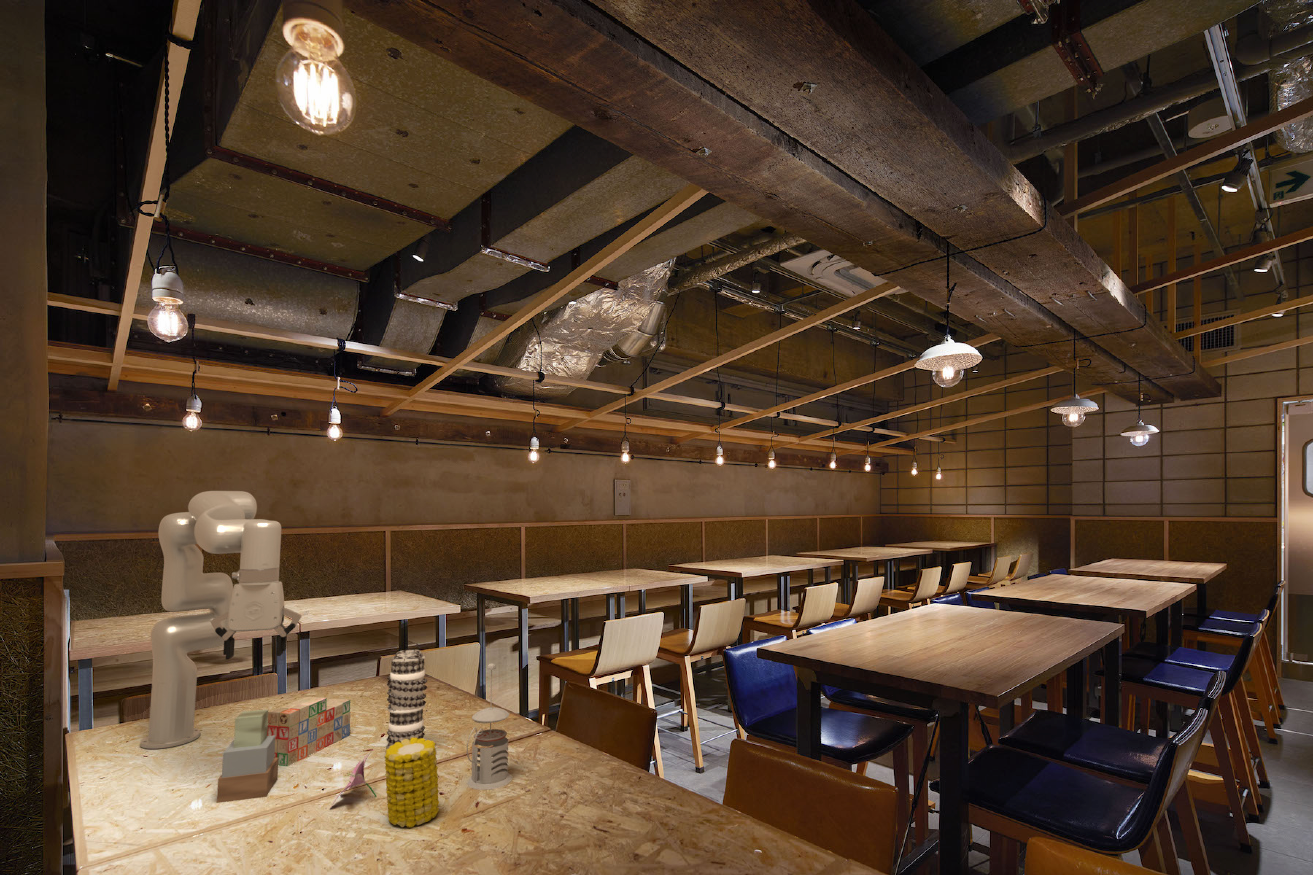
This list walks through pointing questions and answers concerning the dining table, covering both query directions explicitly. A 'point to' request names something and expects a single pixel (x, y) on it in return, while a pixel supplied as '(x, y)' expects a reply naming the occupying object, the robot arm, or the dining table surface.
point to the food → (411, 782)
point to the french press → (489, 750)
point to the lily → (357, 776)
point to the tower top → (248, 758)
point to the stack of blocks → (307, 727)
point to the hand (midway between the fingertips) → (255, 656)
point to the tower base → (247, 785)
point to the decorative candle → (406, 696)
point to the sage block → (251, 728)
